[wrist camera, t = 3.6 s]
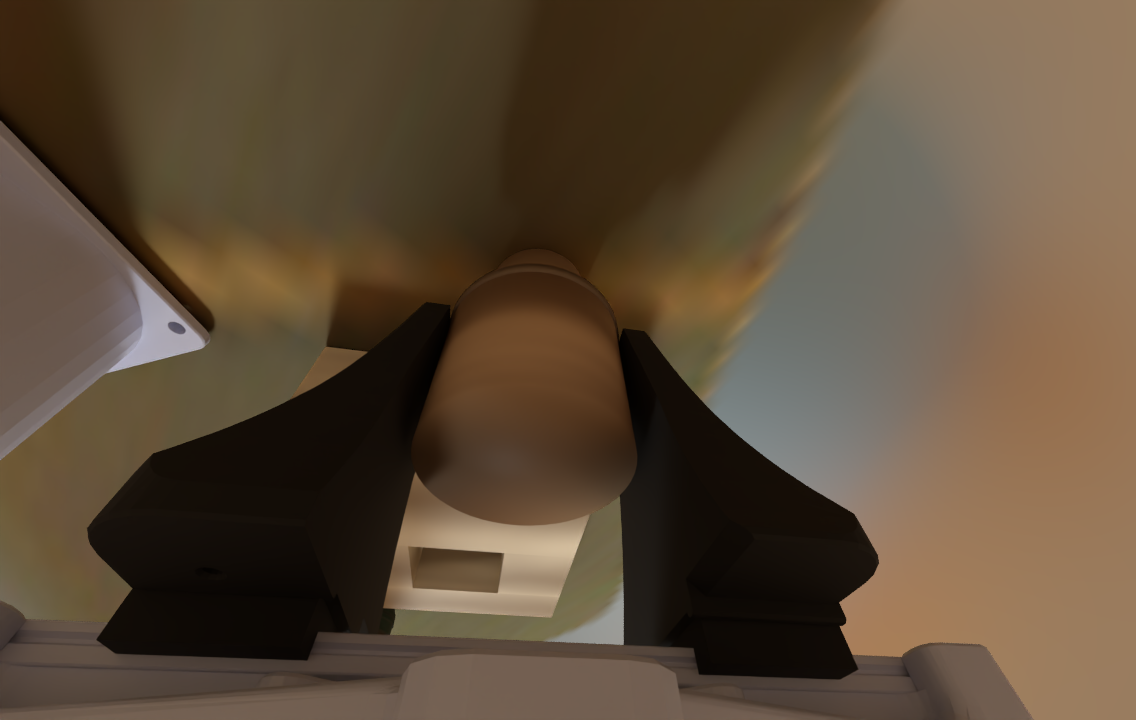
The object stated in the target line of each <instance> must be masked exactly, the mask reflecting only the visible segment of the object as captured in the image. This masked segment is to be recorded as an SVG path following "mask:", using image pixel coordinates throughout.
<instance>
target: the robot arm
mask: <svg viewBox="0 0 1136 720" xmlns="http://www.w3.org/2000/svg"><path fill="white" fill-rule="evenodd" d="M180 324H181V325H182V326H181V325H180ZM449 328H450V305H444V304H437V303H429V302H426V303H425V304H423V305H422V306H421V307H420V308H419V309H418V310H417V311H416V312H414V313H413V314H412V315H411V316H410V317H409V318H408V319H407V320H406V321H405V322H404V323H402V324H401V325H400V326H399V327H398V328H397V329H396V330H394V331H393V332H392V333H391V334H390V335H388V336H387V337H386V338H385V339H384V340H382V341H381V342H380V343H379V344H378V345H376V346H375V347H374V348H373V349H371V350H370V351H369V352H367V353H366V354H364V355H363V356H362V357H360V358H359V359H358V360H356V361H355V362H354V363H352V364H351V365H349V366H348V367H347V368H345V369H344V370H342V371H341V372H339V373H337V374H336V375H334V376H333V377H331V378H329V379H328V380H326V381H324V382H323V383H321V384H319V385H317V386H316V387H314V388H312V389H310V390H308V391H306V392H304V393H302V394H300V395H298V396H296V397H294V398H293V399H291V400H289V401H287V402H285V403H283V404H281V405H279V406H277V407H275V408H272V409H270V410H268V411H266V412H264V413H261V414H259V415H257V416H254V417H252V418H250V419H247V420H245V421H242V422H240V423H238V424H235V425H233V426H230V427H228V428H225V429H223V430H220V431H217V432H215V433H212V434H209V435H206V436H203V437H200V438H198V439H195V440H192V441H189V442H186V443H183V444H180V445H177V446H175V447H172V448H169V449H166V450H163V451H160V452H156V453H153V454H152V455H151V456H150V457H149V458H148V459H147V460H146V461H145V462H144V463H143V464H142V466H141V467H140V468H139V469H138V470H137V471H136V472H135V473H134V474H133V475H132V476H131V477H130V479H129V480H128V481H127V482H126V483H125V484H124V485H123V487H122V488H121V489H120V490H119V491H118V492H117V493H116V495H115V496H114V497H113V498H112V499H111V500H110V501H109V503H108V504H107V505H106V506H105V507H104V508H103V509H102V511H101V512H100V513H99V514H98V515H97V516H96V517H95V519H94V520H93V521H92V523H91V524H90V525H89V527H88V528H87V530H88V539H89V542H90V545H91V546H92V547H93V549H94V550H95V551H96V553H97V554H98V555H99V556H100V557H101V558H102V559H103V560H104V561H105V562H106V563H107V564H108V565H109V566H110V567H111V568H112V569H113V570H114V571H115V572H116V573H117V574H118V575H119V576H120V577H121V578H122V579H123V580H125V581H126V582H127V583H128V584H129V585H130V586H131V587H132V588H133V589H132V590H131V591H130V593H129V594H128V596H127V597H126V598H125V600H124V601H123V603H122V604H121V605H120V607H119V608H118V610H117V611H116V612H115V614H114V615H113V617H112V618H111V619H110V621H109V622H108V623H104V622H81V621H58V620H35V619H25V617H24V615H23V614H22V613H21V612H20V611H19V610H17V609H16V608H14V607H13V606H11V605H9V604H7V603H5V602H3V601H0V720H1033V718H1032V716H1031V715H1030V713H1029V712H1028V710H1027V709H1026V707H1025V706H1024V704H1023V703H1022V701H1021V700H1020V698H1019V697H1018V695H1017V694H1016V692H1015V691H1014V689H1013V687H1012V686H1011V684H1010V683H1009V681H1008V680H1007V678H1006V677H1005V675H1004V674H1003V672H1002V671H1001V669H1000V668H999V666H998V665H997V663H996V662H995V660H994V658H993V657H992V655H991V654H990V652H989V651H988V650H987V648H986V647H984V646H982V645H979V644H978V645H977V644H959V643H928V644H924V645H920V646H917V647H915V648H913V649H911V650H909V651H908V652H906V653H904V654H903V656H902V657H887V656H863V655H852V654H851V651H850V649H849V647H848V644H847V642H846V640H845V638H844V635H843V633H842V631H841V629H840V626H843V625H844V624H845V623H846V617H845V615H844V613H843V610H842V608H841V606H840V604H839V602H840V601H842V600H843V599H844V598H846V597H847V596H848V595H850V594H851V593H852V592H854V591H855V590H856V589H857V588H859V587H860V586H862V585H863V584H864V583H866V581H868V580H869V579H870V578H871V577H872V576H873V575H874V573H875V571H876V568H877V566H878V564H879V560H878V555H877V553H876V551H875V549H874V548H873V546H872V544H871V542H870V541H869V539H868V537H867V535H866V533H865V532H864V530H863V528H862V526H861V525H860V523H859V521H858V520H857V518H856V516H855V515H854V514H853V513H852V512H850V511H848V510H847V509H845V508H843V507H841V506H840V505H838V504H837V503H835V502H833V501H831V500H830V499H828V498H826V497H825V496H823V495H821V494H820V493H817V492H816V491H814V490H813V489H811V488H809V487H808V486H806V485H805V484H803V483H802V482H800V481H799V480H797V479H796V478H794V477H793V476H791V475H790V474H788V473H787V472H785V471H784V470H782V469H781V468H779V467H778V466H777V465H775V464H774V463H773V462H771V461H770V460H768V459H767V458H766V457H764V456H763V455H762V454H760V453H759V452H758V451H757V450H755V449H754V448H753V447H752V446H750V445H749V444H748V443H747V442H745V441H744V440H743V439H742V438H740V437H739V436H738V435H737V434H736V433H735V432H733V431H732V430H731V429H730V428H729V427H728V426H727V425H726V424H725V423H724V422H722V421H721V420H720V419H719V418H718V417H717V416H716V415H715V414H714V413H713V412H712V411H711V410H710V409H709V408H708V407H707V406H706V405H705V404H704V403H703V402H702V401H701V400H700V398H699V397H698V396H697V395H696V394H695V393H694V392H693V391H692V390H691V389H690V388H689V386H688V385H687V384H686V383H685V382H684V381H683V379H682V378H681V377H680V376H679V375H678V373H677V372H676V371H675V370H674V368H673V367H672V366H671V365H670V363H669V362H668V361H667V360H666V358H665V357H664V356H663V354H662V353H661V352H660V351H659V349H658V348H657V347H656V345H655V344H654V343H653V341H652V340H651V339H650V337H649V336H648V335H647V334H646V333H645V331H638V330H631V329H623V331H622V334H621V337H620V340H619V344H618V345H619V351H620V357H621V362H622V368H623V374H624V380H625V386H626V392H627V397H628V403H629V409H630V415H631V421H632V426H633V432H634V438H635V444H636V450H637V467H636V470H635V474H634V476H633V478H632V480H631V482H630V484H629V485H628V486H627V488H626V489H625V490H624V491H623V492H622V493H621V494H620V505H621V523H622V546H623V582H624V645H611V644H588V643H564V642H542V641H519V640H496V639H473V638H450V637H427V636H404V635H381V634H378V631H379V626H380V621H381V616H382V612H383V607H384V602H385V597H386V592H387V588H388V583H389V579H390V574H391V570H392V565H393V561H394V556H395V552H396V548H397V543H398V539H399V535H400V531H401V527H402V522H403V518H404V514H405V510H406V506H407V502H408V498H409V494H410V490H411V486H412V482H413V478H414V475H415V470H414V467H413V463H412V459H411V447H412V441H413V437H414V434H415V431H416V428H417V425H418V422H419V419H420V416H421V413H422V410H423V407H424V404H425V401H426V398H427V395H428V392H429V389H430V386H431V383H432V379H433V376H434V373H435V370H436V367H437V364H438V361H439V358H440V355H441V352H442V349H443V346H444V343H445V340H446V337H447V334H448V331H449ZM209 341H210V335H209V333H208V332H207V330H206V329H205V328H204V327H203V326H202V325H201V324H200V323H199V322H198V321H197V320H196V319H195V318H194V317H193V316H192V315H191V314H190V313H189V312H188V311H187V310H186V309H185V308H184V307H183V306H182V305H181V304H180V303H179V302H178V301H177V300H176V299H175V298H174V297H173V296H172V295H171V294H170V293H169V291H168V290H167V289H166V288H165V287H164V286H163V285H162V284H161V283H160V282H159V281H158V280H157V279H156V278H155V277H154V276H153V275H152V274H151V273H150V272H149V271H148V270H147V269H146V268H145V267H144V266H143V265H142V264H141V263H140V262H139V261H138V260H137V259H136V258H135V257H134V256H133V255H132V254H131V253H130V252H129V251H128V250H127V249H126V248H125V247H124V246H123V245H122V244H121V243H120V242H119V241H118V240H117V239H116V238H115V237H114V236H113V234H112V233H111V232H110V231H109V230H108V229H107V228H106V227H105V226H104V225H103V224H102V223H101V222H100V221H99V220H98V219H97V218H96V217H95V216H94V215H93V214H92V213H91V212H90V211H89V210H88V209H87V208H86V207H85V206H84V205H83V204H82V203H81V202H80V201H79V200H78V199H77V198H76V197H75V196H74V195H73V194H72V193H71V192H70V191H69V190H68V189H67V188H66V187H65V186H64V185H63V184H62V183H61V182H60V181H59V180H58V178H57V177H56V176H55V175H54V174H53V173H52V172H51V171H50V170H49V169H48V168H47V167H46V166H45V165H44V164H43V163H42V162H41V161H40V160H39V159H38V158H37V157H36V156H35V155H34V154H33V153H32V152H31V151H30V150H29V149H28V148H27V147H26V146H25V145H24V144H23V143H22V142H21V141H20V140H19V139H18V138H17V137H16V136H15V135H14V134H13V133H12V132H11V131H10V130H9V129H8V128H7V127H6V126H5V125H4V124H3V123H2V121H1V120H0V460H1V459H2V458H4V457H5V456H6V455H7V454H8V453H10V452H11V451H12V450H13V449H14V448H16V447H17V446H18V445H19V444H20V443H22V442H23V441H24V440H25V439H26V438H28V437H29V436H30V435H31V434H33V433H34V432H35V431H36V430H37V429H39V428H40V427H41V426H42V425H43V424H45V423H46V422H47V421H48V420H49V419H51V418H52V417H53V416H54V415H55V414H57V413H58V412H59V411H60V410H61V409H63V408H64V407H65V406H66V405H67V404H69V403H70V402H71V401H72V400H74V399H75V398H76V397H77V396H78V395H80V394H81V393H82V392H83V391H84V390H86V389H87V388H88V387H89V386H90V385H92V384H93V383H94V382H95V381H96V380H98V379H99V378H100V377H101V376H102V375H104V374H105V373H109V372H113V371H117V370H120V369H124V368H128V367H132V366H136V365H140V364H144V363H148V362H152V361H156V360H160V359H163V358H167V357H171V356H175V355H179V354H183V353H187V352H191V351H195V350H199V349H201V348H203V347H205V346H206V345H207V344H208V343H209Z"/></svg>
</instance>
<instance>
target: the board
mask: <svg viewBox="0 0 1136 720" xmlns="http://www.w3.org/2000/svg"><path fill="white" fill-rule="evenodd" d="M366 353H367V352H366V351H357V350H349V349H341V348H333V347H325V348H324V350H323V351H322V353H321V354H320V356H319V357H318V359H317V360H316V362H315V363H314V365H313V366H312V368H311V369H310V371H309V372H308V374H307V375H306V377H305V378H304V380H303V381H302V383H301V384H300V386H299V387H298V389H297V390H296V392H295V393H294V395H293V396H292V398H291V399H293V398H294V397H296V396H298V395H300V394H302V393H304V392H306V391H308V390H310V389H312V388H314V387H316V386H317V385H319V384H321V383H323V382H324V381H326V380H328V379H329V378H331V377H333V376H334V375H336V374H337V373H339V372H341V371H342V370H344V369H345V368H347V367H348V366H349V365H351V364H352V363H354V362H355V361H356V360H358V359H359V358H360V357H362V356H363V355H364V354H366ZM291 399H290V400H291ZM589 516H590V514H589V515H586V516H584V517H581V518H578V519H574V520H571V521H567V522H562V523H556V524H548V525H535V526H524V525H509V524H501V523H495V522H491V521H486V520H482V519H479V518H476V517H473V516H470V515H467V514H465V513H462V512H460V511H458V510H456V509H454V508H452V507H450V506H448V505H447V504H445V503H444V502H442V501H441V500H439V499H438V498H437V497H435V496H434V495H433V494H432V493H431V492H430V491H429V490H428V489H427V488H426V487H425V486H424V485H423V483H422V482H421V481H420V479H419V478H418V476H417V474H416V472H415V475H414V478H413V482H412V486H411V490H410V494H409V498H408V502H407V506H406V510H405V514H404V518H403V522H402V527H401V531H400V535H399V539H398V543H397V548H396V552H395V556H394V561H393V565H392V570H391V574H390V579H389V583H388V588H387V592H386V597H385V602H384V607H383V608H390V609H408V610H426V611H444V612H462V613H481V614H499V615H517V616H535V617H552V615H553V612H554V609H555V607H556V604H557V601H558V599H559V596H560V593H561V591H562V588H563V585H564V583H565V580H566V577H567V575H568V572H569V569H570V567H571V564H572V561H573V559H574V556H575V553H576V551H577V548H578V545H579V543H580V540H581V537H582V535H583V532H584V529H585V527H586V524H587V521H588V519H589Z"/></svg>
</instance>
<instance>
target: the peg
mask: <svg viewBox="0 0 1136 720" xmlns="http://www.w3.org/2000/svg"><path fill="white" fill-rule="evenodd" d="M618 344H619V334H618V328H617V322H616V319H615V316H614V313H613V310H612V309H611V307H610V305H609V303H608V302H607V300H606V299H605V297H604V296H603V295H602V294H601V293H600V292H599V291H598V290H597V289H596V288H595V287H594V286H593V285H592V284H591V283H590V282H588V281H587V280H586V279H584V278H582V277H581V276H580V274H579V272H578V270H577V269H576V267H575V266H574V265H573V264H572V263H571V262H570V261H569V260H568V259H567V258H565V257H564V256H562V255H560V254H558V253H556V252H553V251H550V250H545V249H527V250H522V251H519V252H517V253H515V254H513V255H511V256H509V257H508V258H506V259H505V260H504V261H503V262H502V263H501V264H500V265H499V267H498V268H497V269H496V270H494V271H492V272H490V273H488V274H486V275H484V276H483V277H481V278H480V279H478V280H477V281H475V282H474V283H473V284H472V285H471V286H469V287H468V288H467V289H466V290H465V292H464V293H463V294H462V295H461V296H460V298H459V300H458V301H457V303H456V305H455V307H454V310H453V313H452V315H451V318H450V328H449V331H448V334H447V337H446V340H445V343H444V346H443V349H442V352H441V355H440V358H439V361H438V364H437V367H436V370H435V373H434V376H433V379H432V383H431V386H430V389H429V392H428V395H427V398H426V401H425V404H424V407H423V410H422V413H421V416H420V419H419V422H418V425H417V428H416V431H415V434H414V437H413V441H412V447H411V459H412V463H413V467H414V470H415V472H416V474H417V476H418V478H419V479H420V481H421V482H422V483H423V485H424V486H425V487H426V488H427V489H428V490H429V491H430V492H431V493H432V494H433V495H434V496H435V497H437V498H438V499H439V500H441V501H442V502H444V503H445V504H447V505H448V506H450V507H452V508H454V509H456V510H458V511H460V512H462V513H465V514H467V515H470V516H473V517H476V518H479V519H482V520H486V521H491V522H495V523H501V524H509V525H524V526H535V525H548V524H556V523H562V522H567V521H571V520H574V519H578V518H581V517H584V516H586V515H589V514H591V513H594V512H596V511H598V510H600V509H602V508H603V507H605V506H606V505H608V504H610V503H611V502H612V501H614V500H615V499H616V498H617V497H619V496H620V494H621V493H622V492H623V491H624V490H625V489H626V488H627V486H628V485H629V484H630V482H631V480H632V478H633V476H634V474H635V470H636V467H637V450H636V444H635V438H634V432H633V426H632V421H631V415H630V409H629V403H628V397H627V392H626V386H625V380H624V374H623V368H622V362H621V357H620V351H619V345H618Z"/></svg>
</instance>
